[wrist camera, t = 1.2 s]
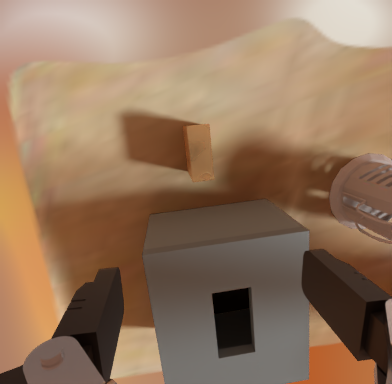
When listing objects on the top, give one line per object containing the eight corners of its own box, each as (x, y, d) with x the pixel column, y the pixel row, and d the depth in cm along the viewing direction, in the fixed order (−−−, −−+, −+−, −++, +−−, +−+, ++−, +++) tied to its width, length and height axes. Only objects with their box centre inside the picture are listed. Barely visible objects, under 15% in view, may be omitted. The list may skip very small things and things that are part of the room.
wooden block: (200, 124, 29) (209, 124, 23) (205, 169, 30) (214, 179, 25) (182, 126, 29) (186, 126, 23) (188, 171, 30) (192, 182, 24)
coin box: (266, 198, 32) (309, 230, 22) (270, 311, 36) (308, 379, 26) (149, 214, 31) (142, 255, 21) (168, 328, 35) (168, 405, 25)
